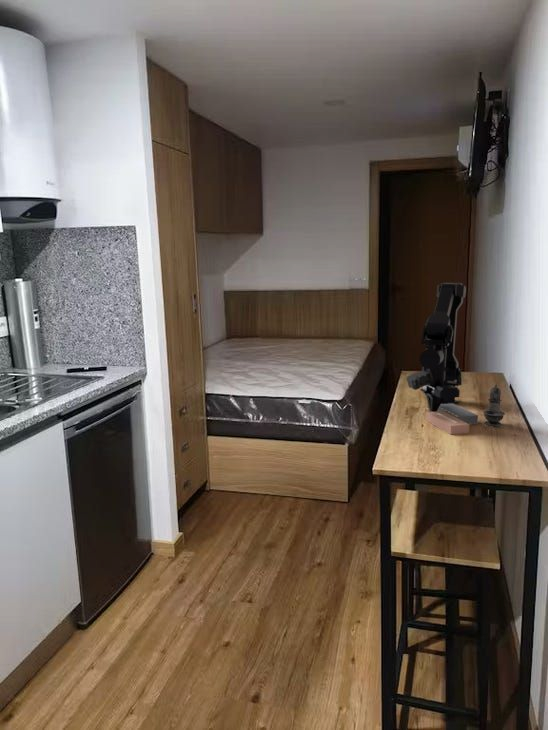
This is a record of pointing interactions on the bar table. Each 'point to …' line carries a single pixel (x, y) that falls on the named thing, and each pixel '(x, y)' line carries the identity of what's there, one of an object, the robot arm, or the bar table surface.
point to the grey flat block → (459, 413)
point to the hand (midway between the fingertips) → (432, 413)
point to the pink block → (447, 422)
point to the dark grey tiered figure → (494, 409)
